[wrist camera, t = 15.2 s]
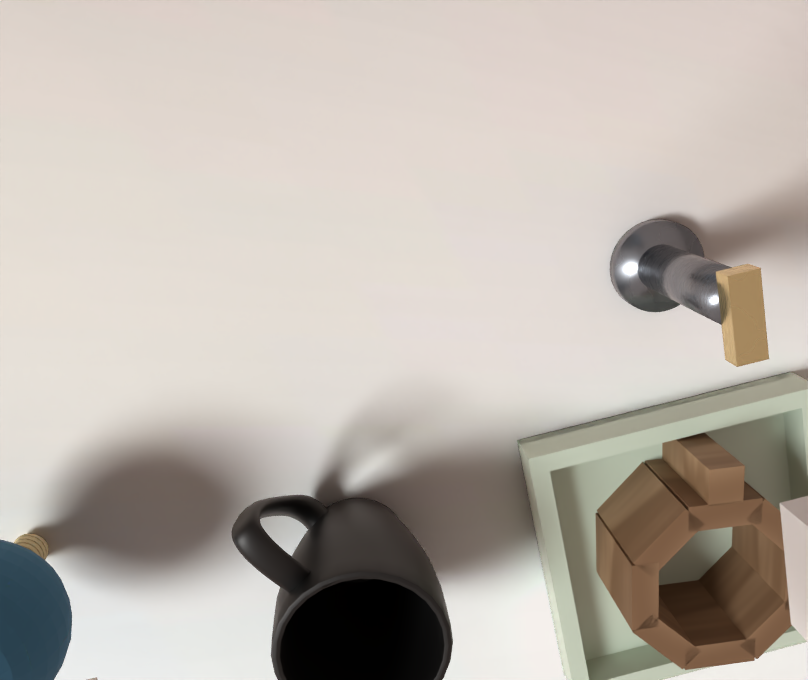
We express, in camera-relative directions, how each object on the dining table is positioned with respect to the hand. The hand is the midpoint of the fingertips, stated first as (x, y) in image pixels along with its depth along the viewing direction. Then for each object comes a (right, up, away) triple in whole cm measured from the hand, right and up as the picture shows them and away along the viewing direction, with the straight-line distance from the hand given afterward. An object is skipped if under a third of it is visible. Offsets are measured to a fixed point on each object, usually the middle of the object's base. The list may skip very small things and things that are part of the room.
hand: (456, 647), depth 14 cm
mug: (-5, -4, +29) cm, 29 cm away
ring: (+15, -5, +30) cm, 34 cm away
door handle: (+12, +10, +26) cm, 31 cm away
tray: (+15, -5, +31) cm, 35 cm away
